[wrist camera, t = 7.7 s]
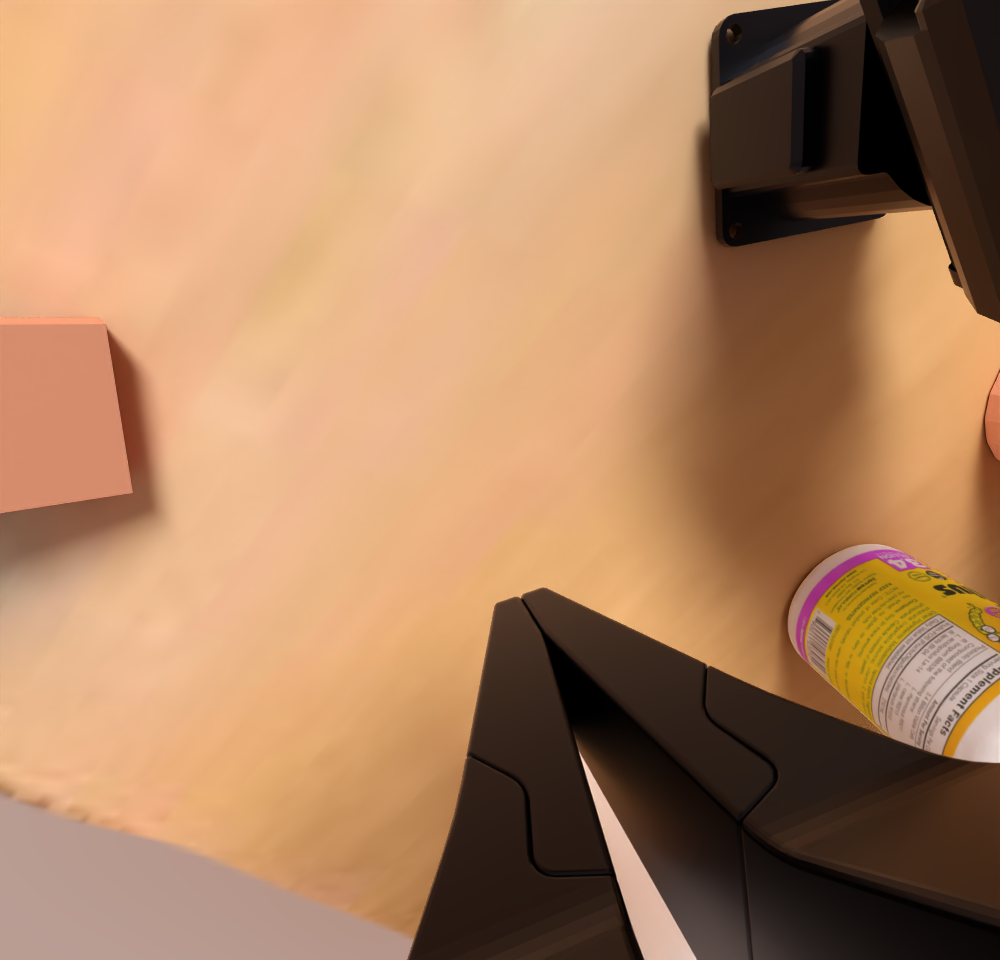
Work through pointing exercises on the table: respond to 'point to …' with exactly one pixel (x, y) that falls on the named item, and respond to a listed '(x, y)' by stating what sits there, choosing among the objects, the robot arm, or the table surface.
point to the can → (639, 889)
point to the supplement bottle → (904, 648)
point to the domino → (58, 414)
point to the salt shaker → (994, 419)
